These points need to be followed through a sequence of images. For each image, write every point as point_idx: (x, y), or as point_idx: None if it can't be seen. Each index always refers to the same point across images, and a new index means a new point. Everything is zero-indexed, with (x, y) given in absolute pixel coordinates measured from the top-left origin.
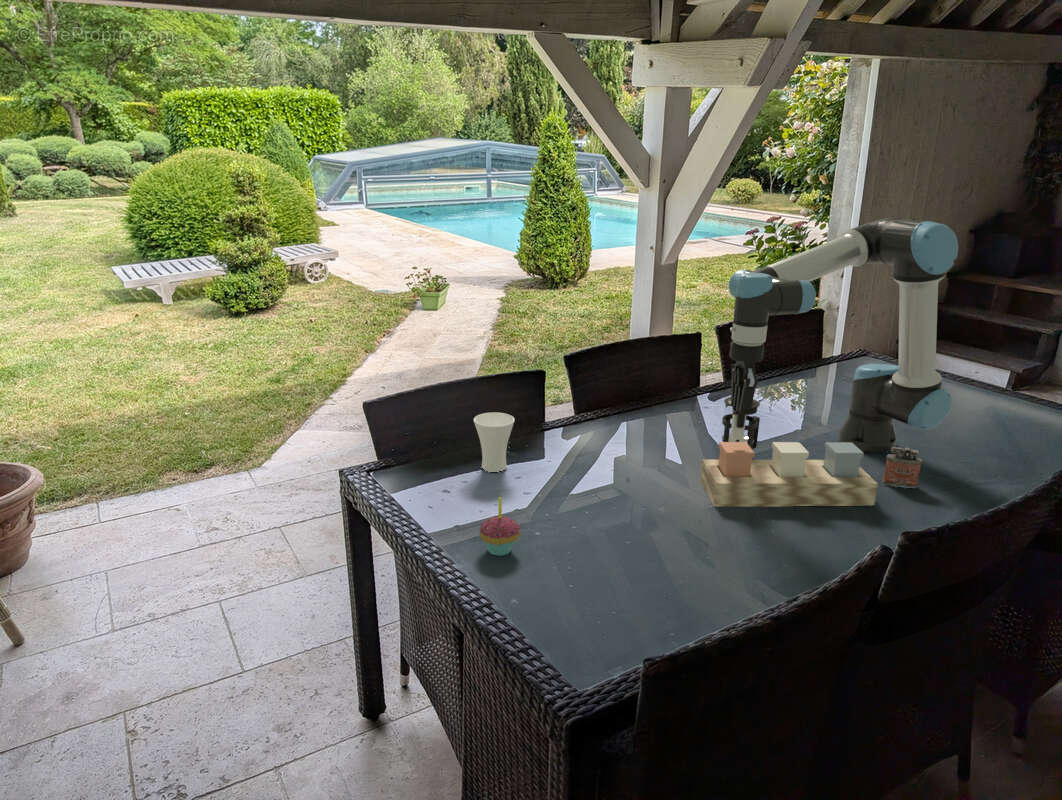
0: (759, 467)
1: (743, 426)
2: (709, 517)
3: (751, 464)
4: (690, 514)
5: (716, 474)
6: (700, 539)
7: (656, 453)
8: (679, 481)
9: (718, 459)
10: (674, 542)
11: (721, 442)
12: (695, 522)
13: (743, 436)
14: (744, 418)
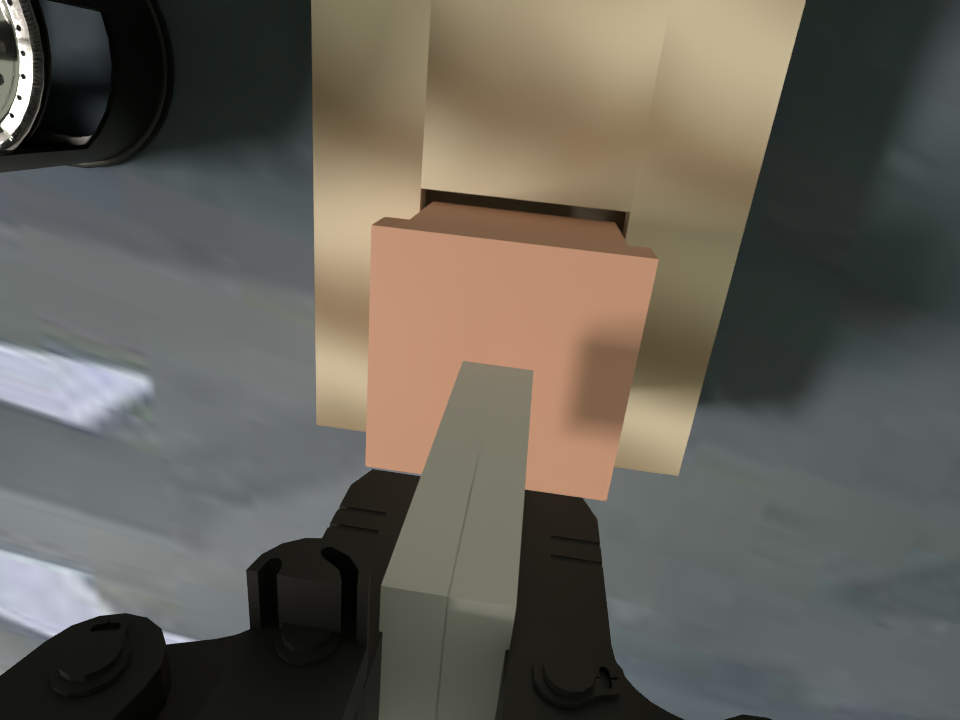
0: (467, 73)
1: (592, 518)
2: (754, 464)
3: (407, 118)
4: (703, 527)
5: None
6: (936, 568)
7: (38, 449)
8: (358, 456)
9: (74, 165)
10: (918, 658)
11: (375, 451)
12: (782, 534)
13: (531, 389)
14: (607, 622)
